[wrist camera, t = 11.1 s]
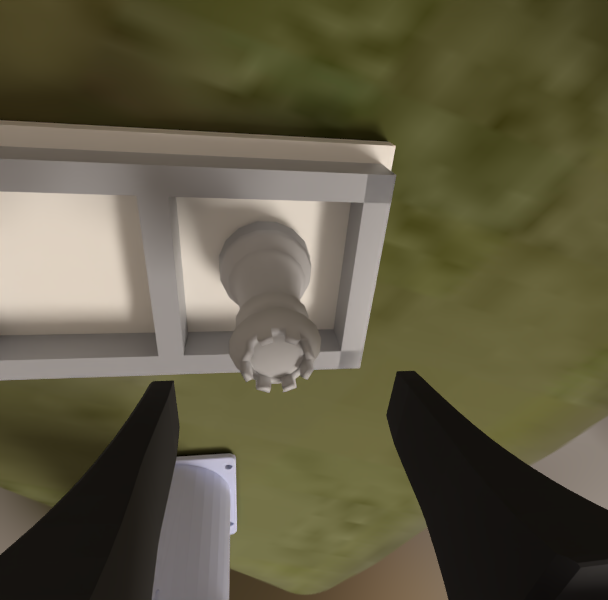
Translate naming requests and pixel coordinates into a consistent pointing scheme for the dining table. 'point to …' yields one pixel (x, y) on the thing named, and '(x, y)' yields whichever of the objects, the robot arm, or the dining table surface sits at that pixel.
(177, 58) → the dining table surface
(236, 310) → the pocket tray
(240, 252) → the rook chess piece
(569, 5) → the dining table surface
